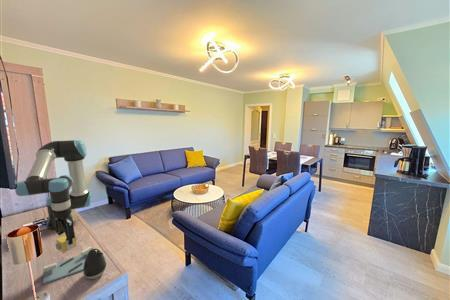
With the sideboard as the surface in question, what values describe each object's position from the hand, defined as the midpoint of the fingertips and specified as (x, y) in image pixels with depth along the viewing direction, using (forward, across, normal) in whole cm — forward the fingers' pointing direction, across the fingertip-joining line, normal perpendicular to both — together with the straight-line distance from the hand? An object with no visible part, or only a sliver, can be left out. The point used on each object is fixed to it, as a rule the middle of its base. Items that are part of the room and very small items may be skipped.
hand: (67, 246), depth 105 cm
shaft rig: (+13, 0, +1) cm, 13 cm away
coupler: (0, 0, 0) cm, 0 cm away
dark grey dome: (+13, +17, +4) cm, 22 cm away
